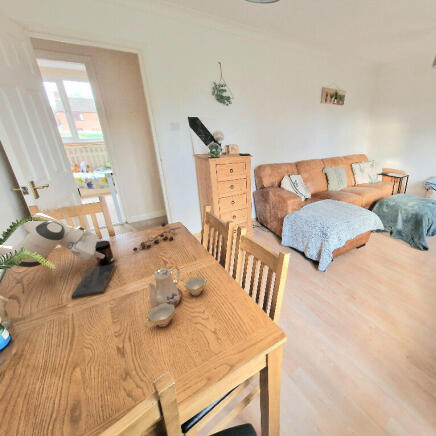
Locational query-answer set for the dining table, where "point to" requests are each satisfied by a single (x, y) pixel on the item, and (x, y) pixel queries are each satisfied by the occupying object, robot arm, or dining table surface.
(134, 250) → the decorative branch
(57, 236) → the robot arm
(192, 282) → the chinaware
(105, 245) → the supplement container
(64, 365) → the dining table surface
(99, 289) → the slate plate
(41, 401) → the dining table surface
